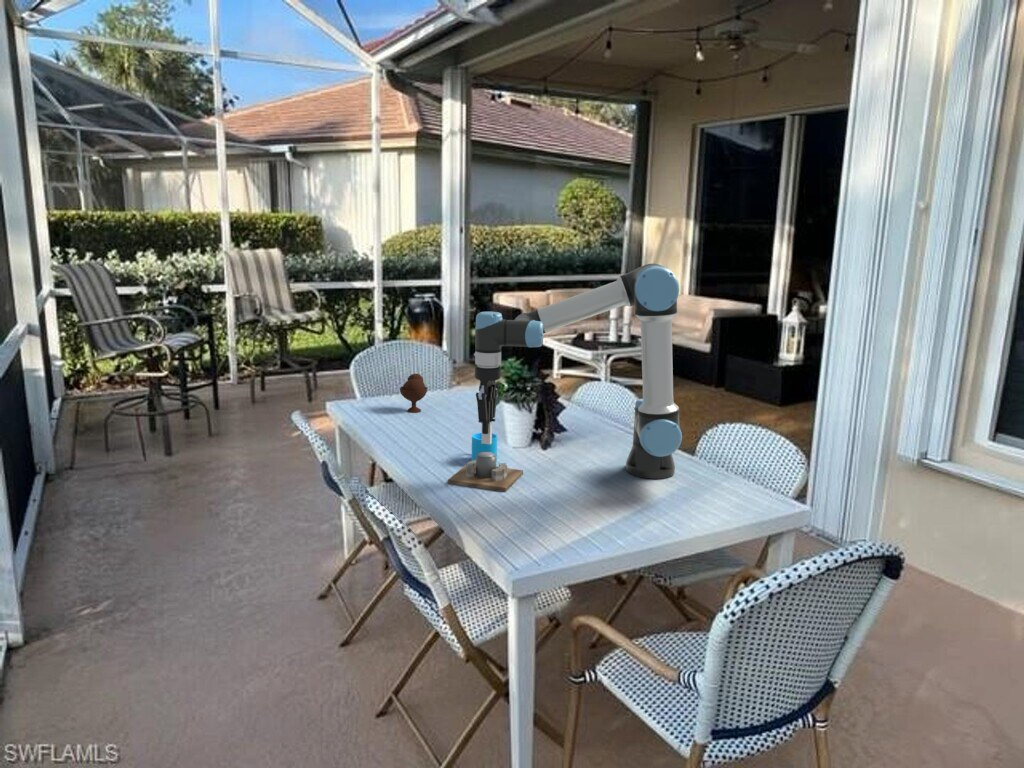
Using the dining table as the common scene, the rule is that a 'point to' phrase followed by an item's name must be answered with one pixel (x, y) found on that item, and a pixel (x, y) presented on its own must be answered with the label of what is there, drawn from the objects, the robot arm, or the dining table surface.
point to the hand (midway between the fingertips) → (486, 443)
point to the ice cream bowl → (414, 391)
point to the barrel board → (498, 481)
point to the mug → (483, 445)
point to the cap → (485, 464)
